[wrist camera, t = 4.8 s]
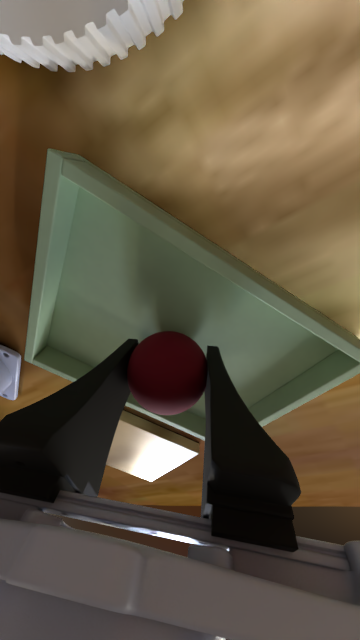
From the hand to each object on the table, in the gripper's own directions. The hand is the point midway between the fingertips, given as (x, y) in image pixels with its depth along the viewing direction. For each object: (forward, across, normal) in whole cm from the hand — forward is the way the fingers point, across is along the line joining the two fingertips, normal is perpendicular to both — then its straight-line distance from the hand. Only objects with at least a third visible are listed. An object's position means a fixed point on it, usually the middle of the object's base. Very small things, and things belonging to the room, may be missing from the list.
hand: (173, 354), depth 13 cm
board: (+1, +6, +16) cm, 17 cm away
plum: (-1, 0, 0) cm, 1 cm away
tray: (+1, 0, 0) cm, 1 cm away
